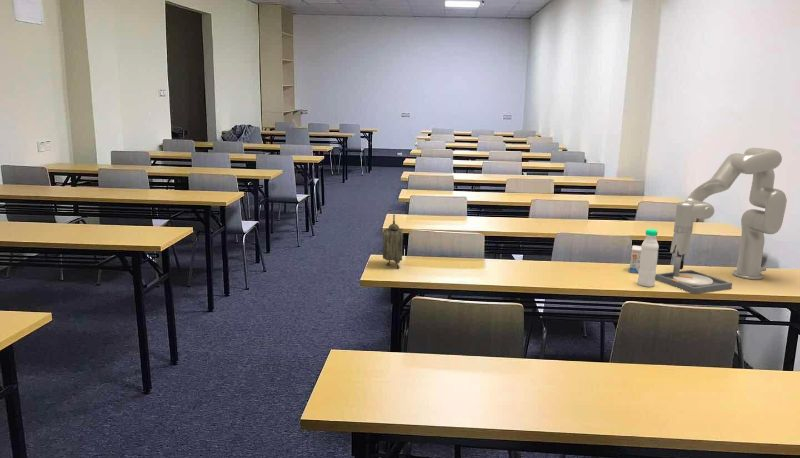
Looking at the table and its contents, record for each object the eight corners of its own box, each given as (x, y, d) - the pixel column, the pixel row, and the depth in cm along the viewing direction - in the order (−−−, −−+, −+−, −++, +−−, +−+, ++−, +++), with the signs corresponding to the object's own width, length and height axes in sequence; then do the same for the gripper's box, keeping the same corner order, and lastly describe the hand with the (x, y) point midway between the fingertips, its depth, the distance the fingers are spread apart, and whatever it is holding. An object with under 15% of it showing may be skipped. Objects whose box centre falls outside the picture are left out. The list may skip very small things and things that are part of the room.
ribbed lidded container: (401, 270, 284) (402, 217, 279) (382, 269, 284) (383, 217, 279) (402, 261, 298) (402, 212, 293) (383, 261, 299) (384, 211, 293)
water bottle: (655, 287, 264) (662, 232, 259) (638, 286, 266) (644, 230, 260) (652, 283, 271) (658, 228, 266) (636, 281, 272) (641, 227, 267)
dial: (712, 279, 274) (715, 257, 272) (712, 288, 260) (716, 265, 258) (673, 274, 281) (675, 252, 279) (671, 283, 267) (674, 260, 265)
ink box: (629, 272, 287) (631, 248, 285) (629, 268, 295) (631, 244, 292) (648, 274, 284) (651, 250, 282) (648, 270, 292) (651, 246, 289)
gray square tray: (690, 275, 285) (691, 269, 284) (731, 288, 265) (732, 282, 264) (654, 279, 277) (655, 273, 276) (693, 293, 257) (694, 287, 256)
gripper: (681, 225, 280) (677, 264, 284) (667, 230, 270) (663, 269, 274) (698, 228, 275) (693, 267, 279) (684, 233, 265) (679, 273, 269)
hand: (678, 268), depth 276 cm, fingers closed
